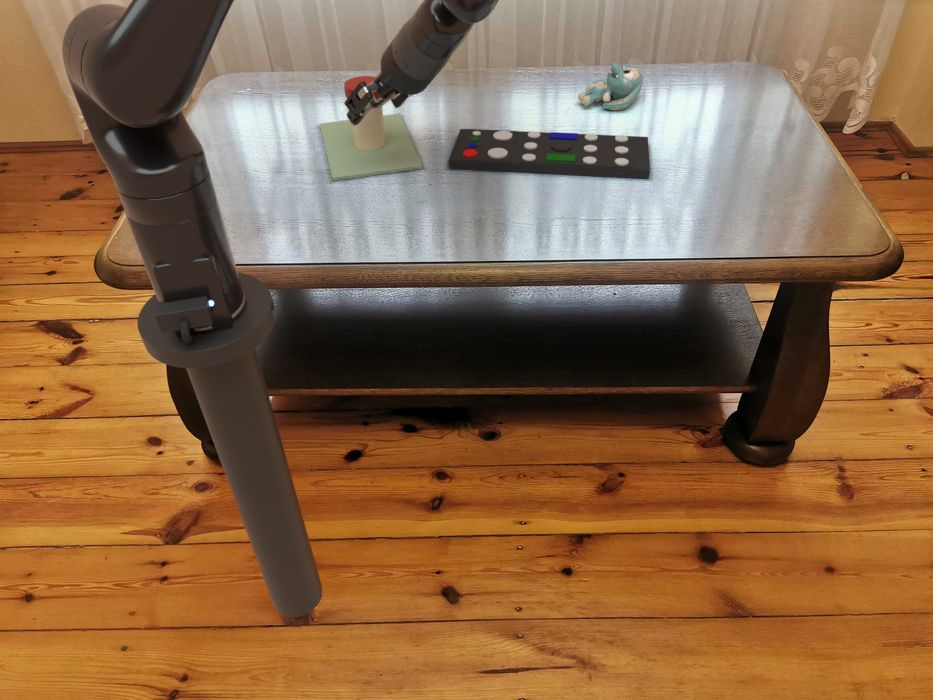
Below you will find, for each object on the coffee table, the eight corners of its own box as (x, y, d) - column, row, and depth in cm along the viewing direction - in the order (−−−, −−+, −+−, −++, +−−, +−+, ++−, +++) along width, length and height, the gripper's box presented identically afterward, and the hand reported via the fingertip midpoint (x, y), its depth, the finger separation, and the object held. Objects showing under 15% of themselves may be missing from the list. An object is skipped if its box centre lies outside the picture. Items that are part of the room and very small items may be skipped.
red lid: (385, 99, 115) (384, 87, 114) (348, 103, 114) (346, 92, 113) (379, 85, 119) (378, 74, 118) (343, 89, 118) (341, 78, 117)
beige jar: (388, 148, 120) (382, 90, 114) (356, 152, 119) (348, 94, 113) (383, 134, 124) (377, 78, 118) (351, 138, 123) (344, 81, 117)
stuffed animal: (563, 67, 132) (623, 43, 133) (568, 104, 137) (625, 81, 138) (594, 89, 124) (656, 63, 126) (597, 127, 129) (657, 102, 131)
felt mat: (423, 168, 116) (422, 165, 116) (332, 181, 114) (332, 177, 113) (400, 116, 131) (399, 113, 130) (320, 126, 128) (319, 123, 128)
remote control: (460, 137, 124) (460, 125, 123) (646, 145, 120) (648, 133, 119) (449, 168, 116) (448, 157, 115) (648, 179, 112) (650, 166, 111)
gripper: (441, 16, 106) (395, 76, 120) (363, 43, 99) (323, 104, 113) (468, 63, 107) (419, 117, 121) (393, 93, 99) (350, 147, 113)
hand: (373, 111), depth 117 cm, fingers open, 8 cm apart
